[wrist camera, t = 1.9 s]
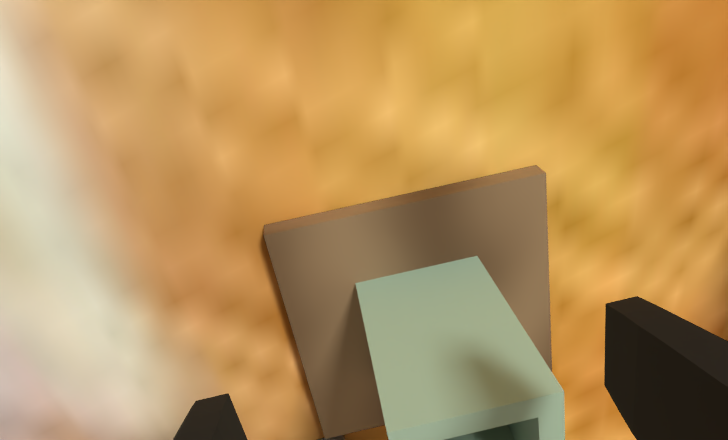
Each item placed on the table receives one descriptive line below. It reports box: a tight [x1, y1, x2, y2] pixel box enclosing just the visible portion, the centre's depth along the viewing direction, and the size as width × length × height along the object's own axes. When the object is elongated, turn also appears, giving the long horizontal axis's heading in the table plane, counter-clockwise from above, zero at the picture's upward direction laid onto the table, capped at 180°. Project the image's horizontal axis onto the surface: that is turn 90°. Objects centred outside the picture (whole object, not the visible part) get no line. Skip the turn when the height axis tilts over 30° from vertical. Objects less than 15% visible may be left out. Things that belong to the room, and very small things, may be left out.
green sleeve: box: [355, 256, 565, 440], centre depth 18 cm, size 5×5×7 cm
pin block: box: [264, 165, 552, 439], centre depth 20 cm, size 10×10×4 cm
